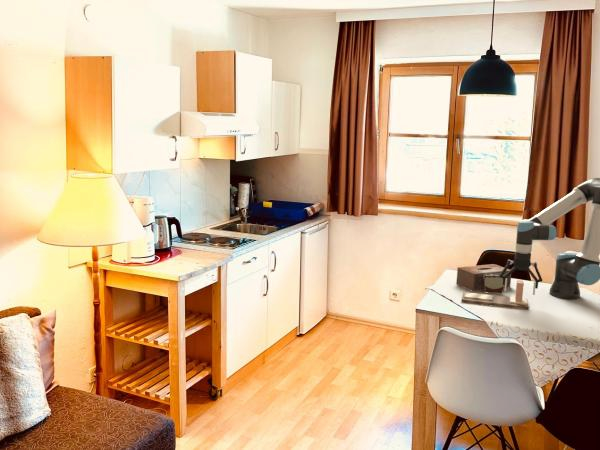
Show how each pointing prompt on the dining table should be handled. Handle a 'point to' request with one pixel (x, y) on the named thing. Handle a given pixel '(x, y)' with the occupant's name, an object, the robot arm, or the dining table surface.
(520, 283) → the stub
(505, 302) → the ticket board
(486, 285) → the food container
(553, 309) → the dining table surface
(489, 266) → the tissue box cover
